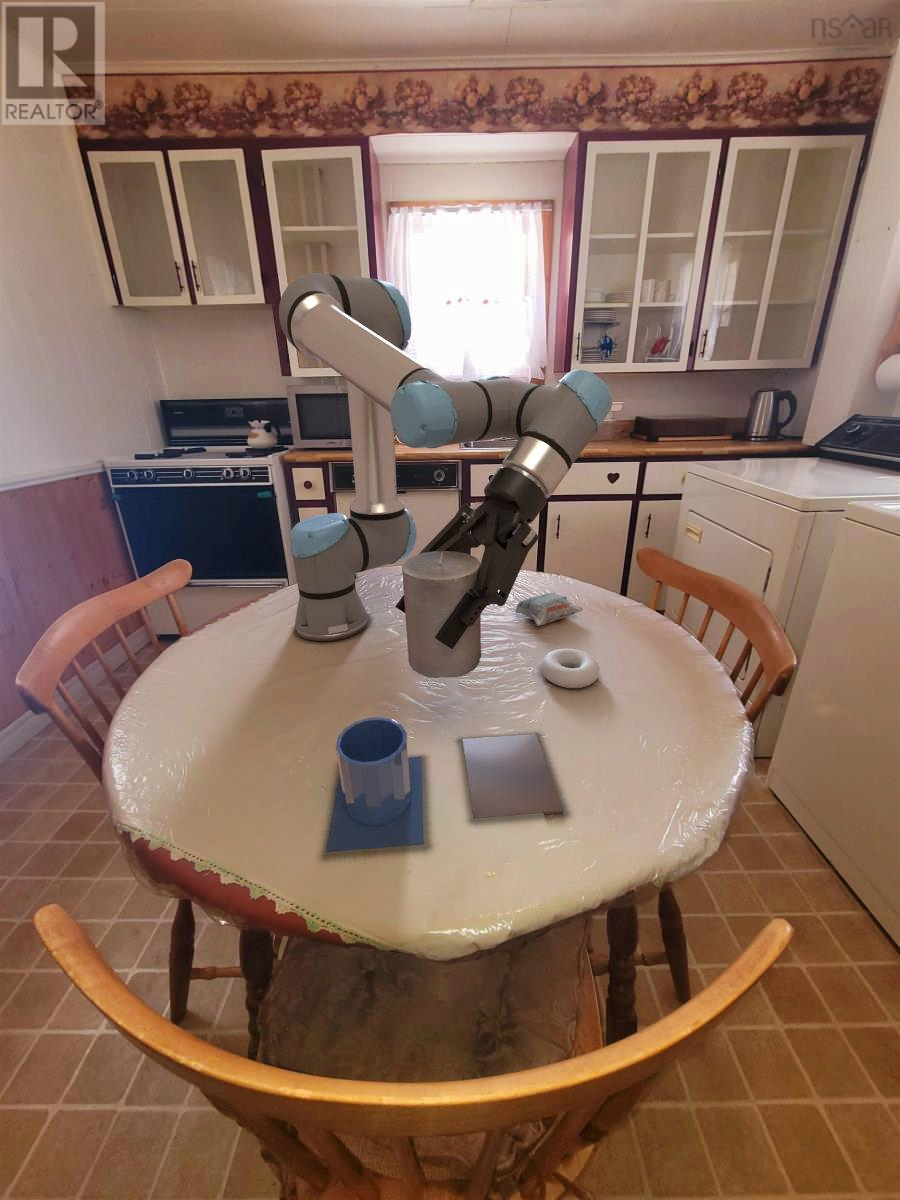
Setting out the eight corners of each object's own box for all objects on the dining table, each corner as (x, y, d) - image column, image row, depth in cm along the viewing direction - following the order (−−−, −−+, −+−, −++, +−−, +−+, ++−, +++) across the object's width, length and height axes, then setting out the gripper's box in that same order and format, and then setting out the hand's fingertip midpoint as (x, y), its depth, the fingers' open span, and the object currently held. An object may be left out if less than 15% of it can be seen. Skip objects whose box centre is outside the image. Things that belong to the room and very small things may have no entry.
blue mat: (342, 764, 67) (341, 762, 67) (421, 759, 68) (421, 756, 67) (326, 855, 54) (325, 852, 54) (424, 846, 55) (423, 843, 55)
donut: (539, 690, 82) (600, 694, 80) (540, 672, 81) (602, 677, 79) (541, 659, 91) (596, 662, 89) (542, 643, 89) (598, 646, 87)
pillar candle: (444, 634, 71) (440, 536, 65) (496, 658, 65) (497, 551, 58) (393, 661, 65) (383, 555, 58) (444, 689, 58) (440, 574, 52)
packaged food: (581, 619, 105) (583, 599, 103) (537, 633, 100) (538, 611, 98) (555, 605, 112) (556, 585, 110) (513, 617, 107) (513, 597, 105)
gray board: (462, 741, 71) (461, 738, 70) (536, 736, 71) (536, 733, 71) (473, 820, 58) (473, 817, 58) (563, 813, 59) (563, 810, 58)
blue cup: (349, 777, 64) (340, 719, 60) (411, 772, 65) (406, 715, 61) (341, 829, 57) (331, 767, 53) (411, 823, 57) (406, 761, 53)
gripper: (604, 518, 55) (491, 678, 54) (488, 487, 73) (402, 609, 72) (574, 477, 51) (450, 652, 50) (458, 454, 68) (365, 584, 67)
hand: (422, 626), depth 61 cm, fingers closed on pillar candle, 10 cm apart
